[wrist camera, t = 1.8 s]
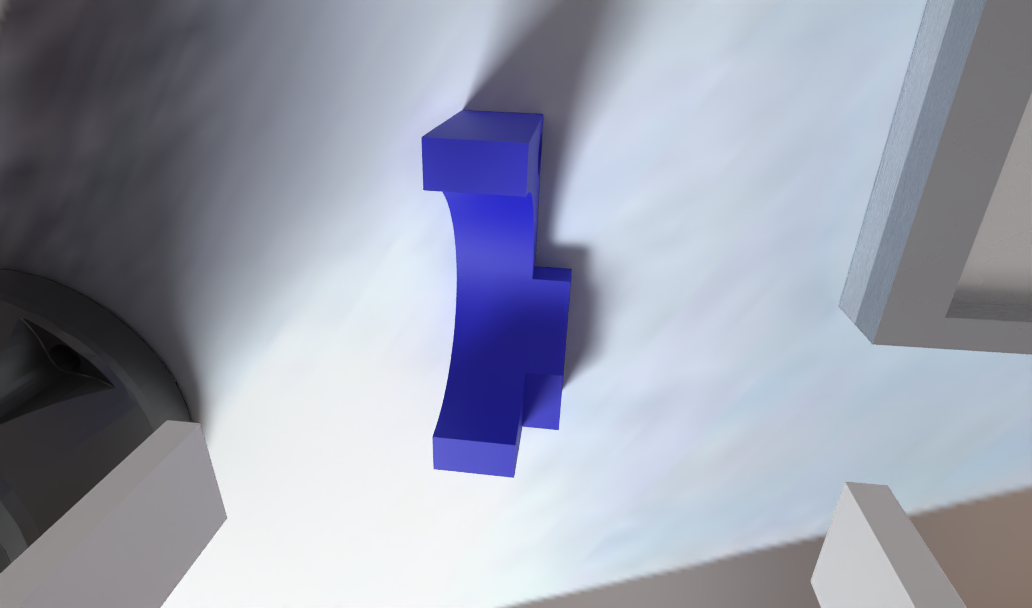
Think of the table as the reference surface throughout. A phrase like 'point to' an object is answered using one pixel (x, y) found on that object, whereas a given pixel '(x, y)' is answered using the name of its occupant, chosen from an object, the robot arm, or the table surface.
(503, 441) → the cable clip
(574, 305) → the table surface
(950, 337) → the grey tray
